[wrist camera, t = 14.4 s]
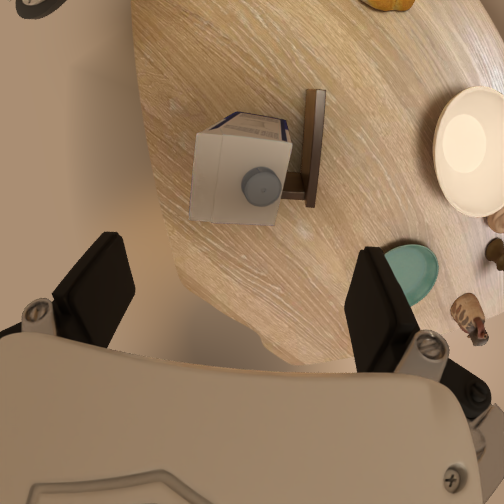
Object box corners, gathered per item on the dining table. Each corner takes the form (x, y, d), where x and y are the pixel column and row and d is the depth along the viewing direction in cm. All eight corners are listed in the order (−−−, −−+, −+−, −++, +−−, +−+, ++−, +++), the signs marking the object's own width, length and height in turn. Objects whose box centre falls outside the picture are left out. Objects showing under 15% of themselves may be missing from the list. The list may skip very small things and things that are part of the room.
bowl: (515, 139, 29) (539, 150, 24) (462, 219, 39) (482, 239, 33) (450, 57, 25) (476, 57, 20) (390, 152, 35) (409, 165, 30)
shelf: (236, 175, 40) (224, 202, 31) (237, 85, 33) (224, 84, 24) (306, 179, 39) (314, 208, 31) (313, 89, 32) (326, 90, 24)
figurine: (448, 319, 52) (467, 359, 42) (452, 298, 49) (474, 339, 39) (472, 310, 50) (492, 348, 40) (477, 288, 47) (501, 326, 37)
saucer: (400, 311, 51) (403, 320, 49) (345, 287, 49) (347, 297, 47) (446, 257, 44) (452, 265, 41) (394, 222, 41) (399, 230, 39)
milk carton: (236, 110, 35) (195, 132, 18) (286, 118, 35) (294, 148, 18) (228, 158, 39) (187, 222, 22) (276, 167, 39) (273, 238, 22)
